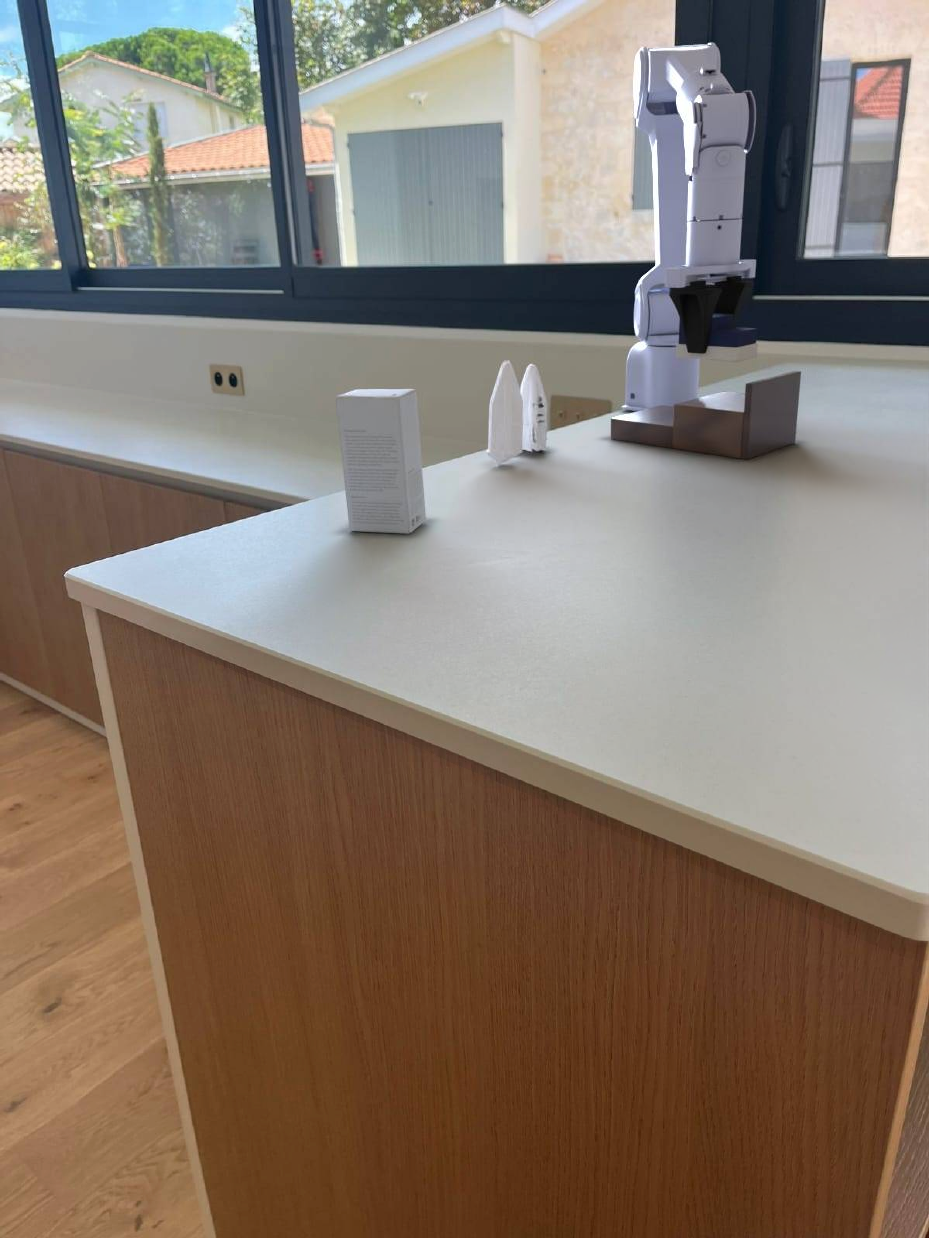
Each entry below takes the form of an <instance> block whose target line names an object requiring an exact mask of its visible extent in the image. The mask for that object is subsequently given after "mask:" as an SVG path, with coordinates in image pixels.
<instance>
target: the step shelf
mask: <svg viewBox="0 0 929 1238" xmlns="http://www.w3.org/2000/svg"><path fill="white" fill-rule="evenodd" d="M801 377H802V371H800V370H794V371H793V370H792V371H790V372H785V373H782V374H778V375H774V376H770V377H767V378H762V379H759V380H755V381H751V382H747V383H745V389H744V392H734V391H721V392H717V393H713V394H709V395H704V396H700V397H698V398H697V399H693V400H689V401H685V402H681V403H677V404H674V407H671V406H662V405H661V406H657V407H653V408H649V409H645V410H641V411H633V412H630V413H625V414H621V415H617V416H615V417H611V418H610V439H611V440H616V441H624V442H630V443H637V444H643V445H648V446H649V445H650V446H656V447H663V448H668V449H675V450H683V451H689V452H695V453H701V454H707V455H708V454H709V455H715V456H722V457H727V458H736V459H742V460H749V459H752V458H755V457H758V456H760V455H761V456H762V455H765V454H767V453H769V452H772V451H776V450H779V449H781V448H784V447H787V446H790V445H793V444H795V443H796V438H797V426H798V415H799V403H800V390H801Z"/></svg>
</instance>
